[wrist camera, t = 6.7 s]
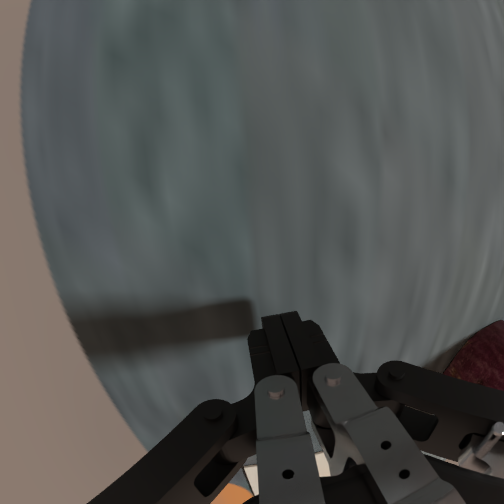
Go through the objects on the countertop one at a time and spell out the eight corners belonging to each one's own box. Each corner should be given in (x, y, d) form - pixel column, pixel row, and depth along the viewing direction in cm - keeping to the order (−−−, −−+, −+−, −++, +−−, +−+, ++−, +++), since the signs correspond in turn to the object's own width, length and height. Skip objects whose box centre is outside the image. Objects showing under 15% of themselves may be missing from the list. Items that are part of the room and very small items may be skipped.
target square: (243, 465, 18) (244, 467, 18) (381, 432, 19) (381, 433, 19) (258, 504, 22) (258, 505, 22) (359, 480, 23) (359, 481, 23)
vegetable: (412, 351, 20) (492, 483, 6) (498, 292, 18) (607, 362, 3) (430, 419, 21) (476, 524, 7) (504, 368, 19) (572, 445, 4)
